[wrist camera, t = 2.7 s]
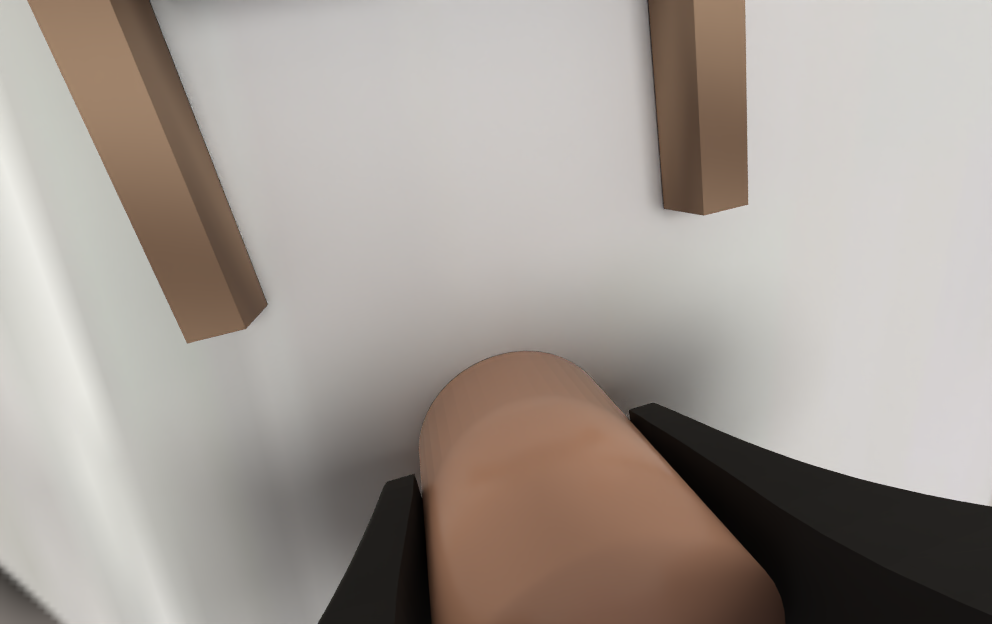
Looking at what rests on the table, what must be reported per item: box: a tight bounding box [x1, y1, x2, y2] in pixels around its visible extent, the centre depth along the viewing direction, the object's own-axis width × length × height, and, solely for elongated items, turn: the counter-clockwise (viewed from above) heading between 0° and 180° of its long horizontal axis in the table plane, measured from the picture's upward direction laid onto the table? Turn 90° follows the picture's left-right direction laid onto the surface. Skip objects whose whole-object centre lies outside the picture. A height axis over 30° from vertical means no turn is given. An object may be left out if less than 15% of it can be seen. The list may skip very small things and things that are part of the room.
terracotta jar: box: [419, 351, 785, 624], centre depth 9 cm, size 5×5×6 cm
